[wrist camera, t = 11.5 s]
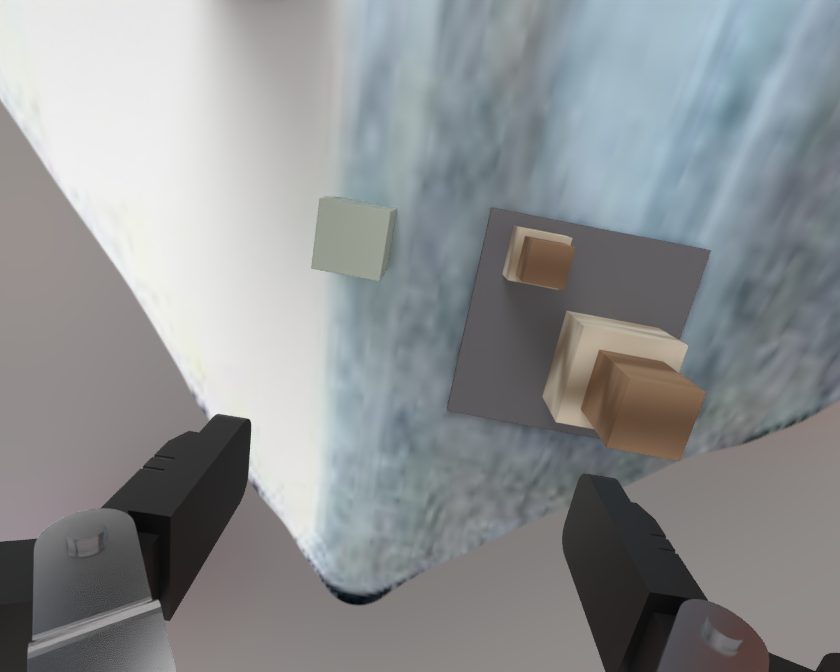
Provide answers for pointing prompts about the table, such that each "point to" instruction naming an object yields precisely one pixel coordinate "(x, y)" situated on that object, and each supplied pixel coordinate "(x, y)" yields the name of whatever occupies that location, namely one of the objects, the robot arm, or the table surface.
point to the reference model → (538, 258)
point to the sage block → (353, 238)
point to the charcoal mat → (560, 312)
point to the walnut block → (641, 405)
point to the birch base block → (581, 351)
